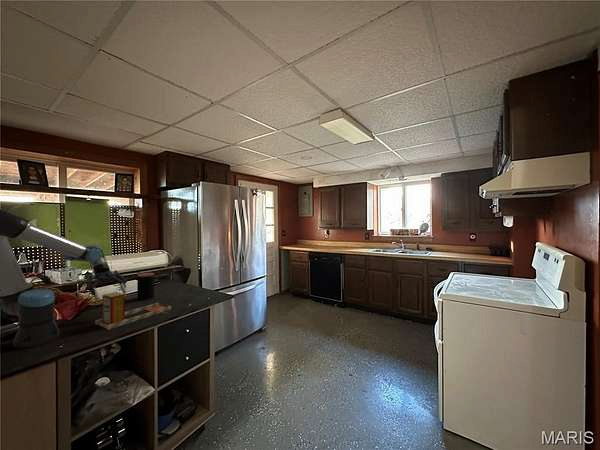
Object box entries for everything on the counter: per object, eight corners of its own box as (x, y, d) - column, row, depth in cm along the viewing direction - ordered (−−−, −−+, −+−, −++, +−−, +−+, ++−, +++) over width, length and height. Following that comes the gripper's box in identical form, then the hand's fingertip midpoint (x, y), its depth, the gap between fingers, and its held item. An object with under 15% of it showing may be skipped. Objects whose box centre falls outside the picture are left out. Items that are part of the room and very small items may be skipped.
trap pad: (155, 313, 152) (155, 312, 152) (145, 310, 157) (145, 309, 157) (169, 308, 160) (169, 308, 160) (159, 305, 165) (159, 305, 165)
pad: (107, 328, 130) (107, 328, 130) (97, 324, 135) (97, 323, 135) (130, 321, 139) (130, 320, 139) (120, 317, 144) (120, 317, 144)
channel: (107, 329, 128) (107, 326, 128) (95, 324, 135) (95, 320, 135) (170, 309, 159) (170, 306, 159) (158, 305, 166) (158, 302, 166)
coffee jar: (149, 295, 189) (149, 272, 189) (157, 297, 184) (157, 273, 183) (134, 299, 180) (134, 274, 180) (142, 301, 174) (141, 276, 174)
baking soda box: (102, 322, 136) (102, 294, 136) (116, 318, 142) (115, 291, 142) (111, 326, 132) (111, 296, 132) (124, 321, 138) (124, 293, 137)
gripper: (121, 267, 160) (133, 294, 153) (71, 274, 139) (82, 305, 131) (125, 260, 157) (137, 287, 150) (75, 266, 136) (86, 297, 129)
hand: (111, 295), depth 141 cm, fingers open, 13 cm apart
